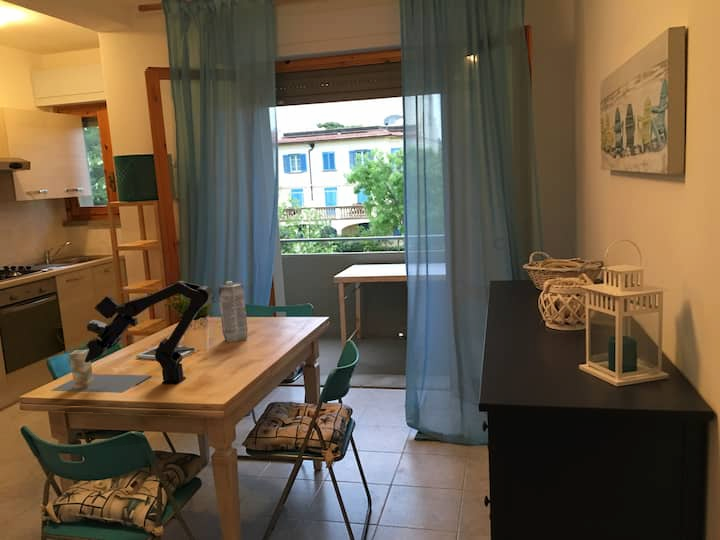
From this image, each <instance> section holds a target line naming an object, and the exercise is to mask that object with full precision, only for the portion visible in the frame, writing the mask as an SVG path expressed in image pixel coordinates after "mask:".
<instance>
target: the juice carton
mask: <svg viewBox="0 0 720 540" xmlns="http://www.w3.org/2000/svg"><path fill="white" fill-rule="evenodd" d="M217 290H218V300H219V310H220V312H219V313H220V321H221V330H222V335H223V337H224V340H225V341H226V342H228V343H233V342H234V343H235V342H240V341H245V340H247V339H248V319H247V309H246V302H245V301H246V299H245V292H244V285H243V284H241V283H239V282H234V283H233V281H232V280H230V281H229V280H228V281H226V282H225V284H219V285H218V289H217Z"/></svg>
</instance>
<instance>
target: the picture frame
mask: <svg viewBox="0 0 720 540" xmlns="http://www.w3.org/2000/svg"><path fill="white" fill-rule="evenodd" d="M185 346H186V345H178V349H177V352H178V353H179V354H181V355H182V356H183V357H184V358H186V357H188V356H190V355H189V354H191V353H193V352H194V351H195V349H194V348H187V347H185ZM158 347H159V345H157V346H155V347H152V348H150V349H148V350H146V351H143V352H141V353H138V354H136V355H135V358H142V359H141V360H149V359H156V358H155V353H156V352H157V351H155V350H156V349H157V348H158ZM193 354H194V353H193ZM187 355H188V356H187ZM191 355H192V354H191ZM185 356H186V357H185ZM183 357H182V359H184V358H183Z"/></svg>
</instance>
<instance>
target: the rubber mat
mask: <svg viewBox="0 0 720 540" xmlns="http://www.w3.org/2000/svg"><path fill="white" fill-rule="evenodd" d="M92 374H93V381H94V383H93V384H92V385H91V386H90V387H88V388H76V389H74V382H73V379H71V380H69V381H67V382H64V383H62V384H61V385H58V386H57V387H55V388H53V389H51V390H50V391H51V392H52V391H53V392H54V391H55V392H56V391H57V392H85V393H87V392H88V393H91V392H92V393H118V394H119V393H121V394H122V393H125V392H126V391H128V390H129V389H131V388H132V387H133V388H135V387H137V386H139V385H141V384H142V383H143V382H146V381H147V380H149V379H151V378H152V377H153V376H152V374H151V375H150V374H146V375H145V374H110V373H109V374H108V373H107V374H105V373H104V374H103V373H99V374H98V373H92ZM133 388H132V389H133Z"/></svg>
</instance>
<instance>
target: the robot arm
mask: <svg viewBox="0 0 720 540" xmlns="http://www.w3.org/2000/svg"><path fill="white" fill-rule="evenodd" d="M178 294H180V295H182V296H183V297H185V298H187V299H189V304H188V307H187V309H186V311H185V312H184V314H183V315H182V317H181V318H180V320H179V322H178V324H177V325H176V327H175V328H174V330H173V331H172V333H171V334H170V336H169V338H167V337H164V339H162V340H161V341H160V342H159V344H158V346H159V347H158V348H157V349H156V350H155V351H157V352H156V353H155V358H156V360H155V361H157V363H158V364H159V365H160V367H161V375H162V382H161V384H163V385H164V384H165V385H166V384H169V385H177V384H180V383H181V382H182V381H183V380H184V381H185V380H186V379H187V377H186V376H184V371H183V363H181V362H182V360H183V358H182V357H183V356H182V355H181V354H179V353H178V352H177V349H178V346H180V342H181V340H182V339H183V336H184V335H185V334H186V332H187V331H188V329H189V327H190V326H191V324H192V322H193V321H194V319H195V318H196V316H197V314H198V313H199V312H200V310H201V309H202V308H203V307H204V306H206V304H207V303H209V300H210V299H212V297H213V291H212V289H211V288H210V287H209V286H207V285H202V286H201V285H198V284H195V283H191V282H190V283H189V282H186V281H184V280H179V281H177V282H175V283H173V284H171V285H169V286H166V287H164V288H162V289H160V290H158V291H155V292H154V293H151V294H148V295H143V296H140V297H136V298H132V299H131V300H129V301H127V302H123V303H121V304H119V303H118V302H117V301H115V300H114V299H113V297H111V296H110V295H106V296H105V297H104V298H103V299H102V300H100V302H98V303H97V304H96V305H95V307H94V310H95V311H96V312H98V313H99V314H100V315H101V316H102V317H104V318H105V319H107V320H108V319H110V320H112V319H113V320H112V321H111V322H109V323H108V324H107V323H105V322H102V321H100V320H99V319H98V320H97V319H92V320H90V321H89V322H88V324H87V325H86V331H87V332H91V333H94V334H97V338H96V337H93V338H92V339H90V340H89V341H88V342H87V344H86V347H87V348H88V349H89V352H88V354H87V356H86V358H85V362H86V363H87V362H89V361H93V360H95V359H97V358H99V357H101V356H103V355H104V354H105V353H106V352H107V351H108V350H110V349H112V348H113V347H115V346H116V345H117V344H119V343H120V342H121V341H122V340H123V335H124V334H125V331H126V330H127V329H128V328H129V327H130V325H131V326H132V327H133V328H134V327H136V326H137V325H138V324H139V322H138V321H139V320H138V317H136V316H138V315H139V314H141V313H143V312H144V311H146V310H147V309H148V308H150V307H151V306H153V305H155V304H158V303H159V302H162V301H164V300H167V299H168V298H171V297H173V296H176V295H178Z"/></svg>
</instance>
